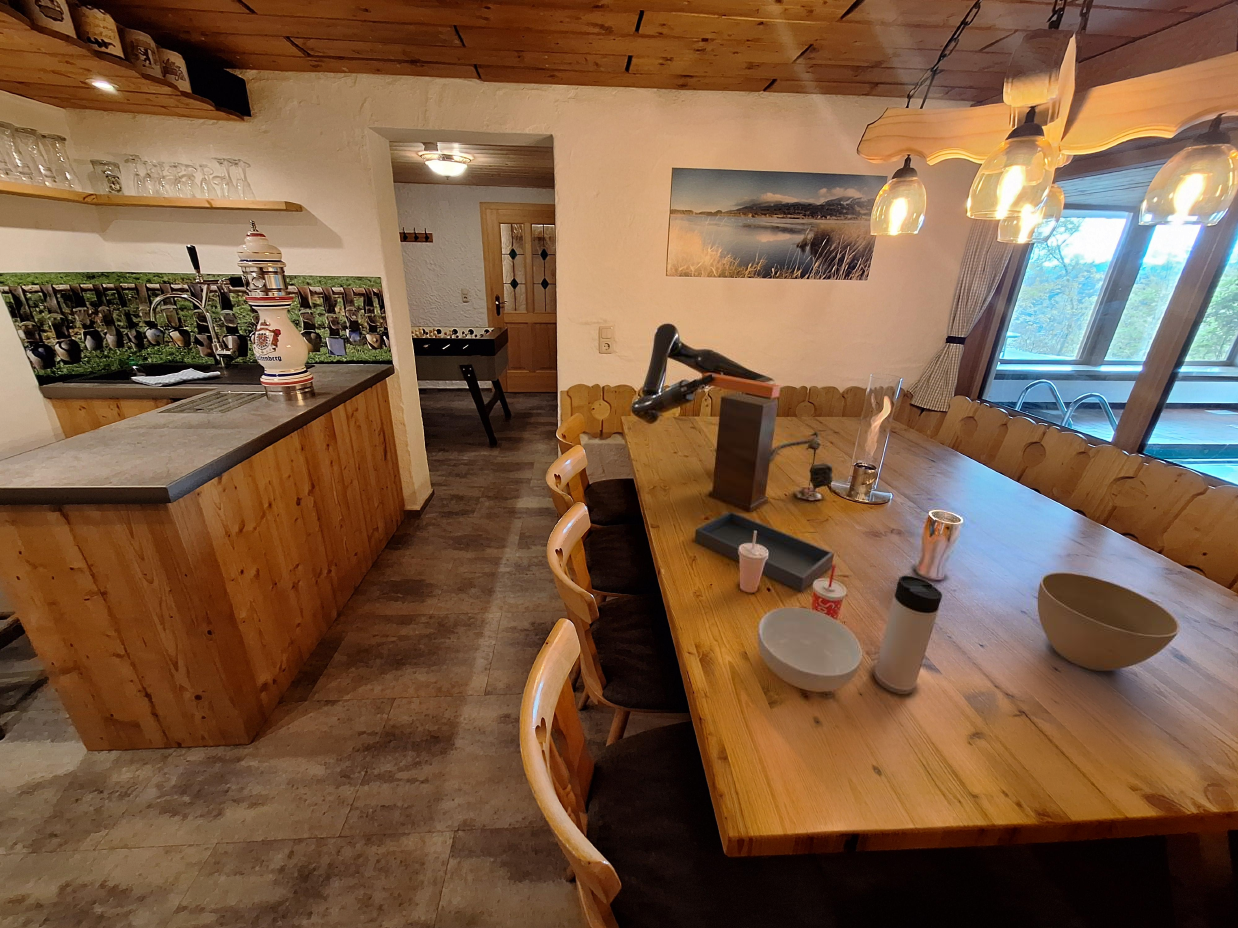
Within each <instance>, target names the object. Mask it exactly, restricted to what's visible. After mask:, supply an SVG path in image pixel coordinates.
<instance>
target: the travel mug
mask: <svg viewBox="0 0 1238 928" xmlns="http://www.w3.org/2000/svg"><path fill="white" fill-rule="evenodd" d="M942 598H943V594H942V592H941V591H940V590H939V589H938V588H936V587H935V586H933V584H932V583H931V582H929V581H927V580H925V579H922V578H920V577H917V576H912V575H902V576H900V577H899V578H898V581H897V584H896V588H895V592H894V595H893V599H892V601H891V602H892V603H891V607H890V610H889V614H888V617H887V622H886V624H885V629H884V632H883V637H882V641H881V645H880V647H879V652H878V655H877V660H876V664H875V667H874V670H873V677H874V678H875V680H876V682H877V683H878V684H879V685H880V686H881V687H882V688H883V689H885V690H887V691H889V692H891V693H894V694H898V695H909V694H912V693H913V692H914V691H915V688H916V685H917V682H918V678H919V675H920V671H921V668H922V666H923V663H924V658H925V655H926V652H927V648H928V645H929V642H930V639H931V636H932V632H933V630H934V626H935V622H936V619H937V616H938V612H939V610H940V604H941V602H942Z"/></svg>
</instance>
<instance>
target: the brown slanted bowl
mask: <svg viewBox="0 0 1238 928" xmlns="http://www.w3.org/2000/svg"><path fill="white" fill-rule="evenodd" d="M1037 612H1038V617H1039V622H1040V625H1041V628H1042V630H1043V632H1044V634H1045V636H1046V638H1047V639H1048V641H1049V643H1050V645H1051V646H1052V648H1053V649H1054V650H1055V651H1056V652H1057V653H1058V654H1059V655H1060V656H1061V657H1063V658H1065V659H1066V660H1068V661H1069V662H1071V663H1073V664H1074V665H1077V666H1079V667H1082V668H1085V669H1088V670H1091V671H1098V672H1104V671H1105V672H1108V671H1109V672H1110V671H1116V670H1121V669H1125V668H1129V667H1133V666H1136V665H1138V664H1140V663H1143V662H1145V661H1147V660H1150V659H1151V658H1153V657H1154V656H1155V655H1157V654H1159V653H1160V652H1161V651H1162V650H1164V649H1165V648H1166V647H1167V646H1169V645H1170V643H1171V642H1172V641H1173V640H1174V639H1175V638H1176V636H1177V635H1178V634H1179V632H1180V629H1181V627H1180V623H1179V622H1178V619H1177V618H1176V617H1175V616H1174V615H1173V614H1172V613H1171V612H1170V611H1169V610H1168V609H1166V608H1165V607H1163V606H1162V605H1160V604H1159V603H1157V602H1156V601H1154V600H1152V599H1150V598H1149V597H1147V596H1145V595H1142V594H1140V593H1139V592H1136V591H1135V590H1132V589H1130V588H1128V587H1125V586H1122V585H1120V584H1117V583H1114V582H1112V581H1108V580H1104V579H1102V578H1099V577H1094V576H1090V575H1085V574H1081V573H1080V574H1079V573H1074V572H1052V573H1047V574H1045V575H1044V576H1042V578H1041V579H1040V582H1039V586H1038V592H1037Z"/></svg>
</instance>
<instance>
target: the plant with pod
mask: <svg viewBox="0 0 1238 928" xmlns="http://www.w3.org/2000/svg"><path fill="white" fill-rule="evenodd" d="M811 439H812V440H811ZM811 439H810V440H811V441H810V442H808V443H807V447H806V448H805V450H806V451H808V450H809V449H810V450H813V458H812V465H811V466H810V468H809V482H808V486H806V485H803V486H802V487H801V489H800V488H799V489H795V490H794V497H796V498H799V499H802V500H809V501H816V500H823V497H822V494H821V493H820V491H817V489H820V488H824V487H827V489H828V490H829V492H830V493H831V494H833V493H834V492H833V490H832V488H831V486H830V485H831V484H832V482H833V479H834V478H833V472H834V471H833V470H834V469H833V465H831V464H830V463H828V462H821V463H820V462H819V463H815V460H816V453H817V451H818V450H819V449H820V446H821V445H822V442H821V440H819V439H816V437H812V438H811ZM811 484H812V487H811V486H810V485H811Z"/></svg>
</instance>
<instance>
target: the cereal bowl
mask: <svg viewBox="0 0 1238 928" xmlns="http://www.w3.org/2000/svg"><path fill="white" fill-rule="evenodd" d="M756 639H757V647H758V650H759V654H760V656H761V658H762V660H763V662H764V663H765V664H766V666H767V667H768V669H770V670H771V671H772V673H774V675H776V676H777V677H778V678H779V679H781V680H783V681H784V682H785V683H787V684H789V685H792V687H796V688H799V689H802V690H806V691H811V692H818V693H819V692H820V693H821V692H822V693H823V692H831V691H836V690H838V689H841V688H843V687H845V686H847V685H848V684H849V683H850V682H851V681H852V680H853V679H854V678H855V677H856V675H857V673H858V671H859V668H860V666H861V663H862V660H863V650H862V647H861V644H860V642H859V640H858V639H857V637H856V635H854V633H853V632H852V631H851V630H850V629H849V628H848V627H847V626H845V625H844V624H843V623H841V622H840V621H839V620H838V619H837V620H835V619H833V618H832V617H830V616H828V615H826V614H823V613H821V612H818V611H815V610H811V608H806V607H800V606H785V607H784V606H783V607H778V608H775V609H773V610H770V611H768V612H767V613H766V614H764V615H763V617H762V618H761V619H760V621H759V623H758V626H757V637H756Z"/></svg>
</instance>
